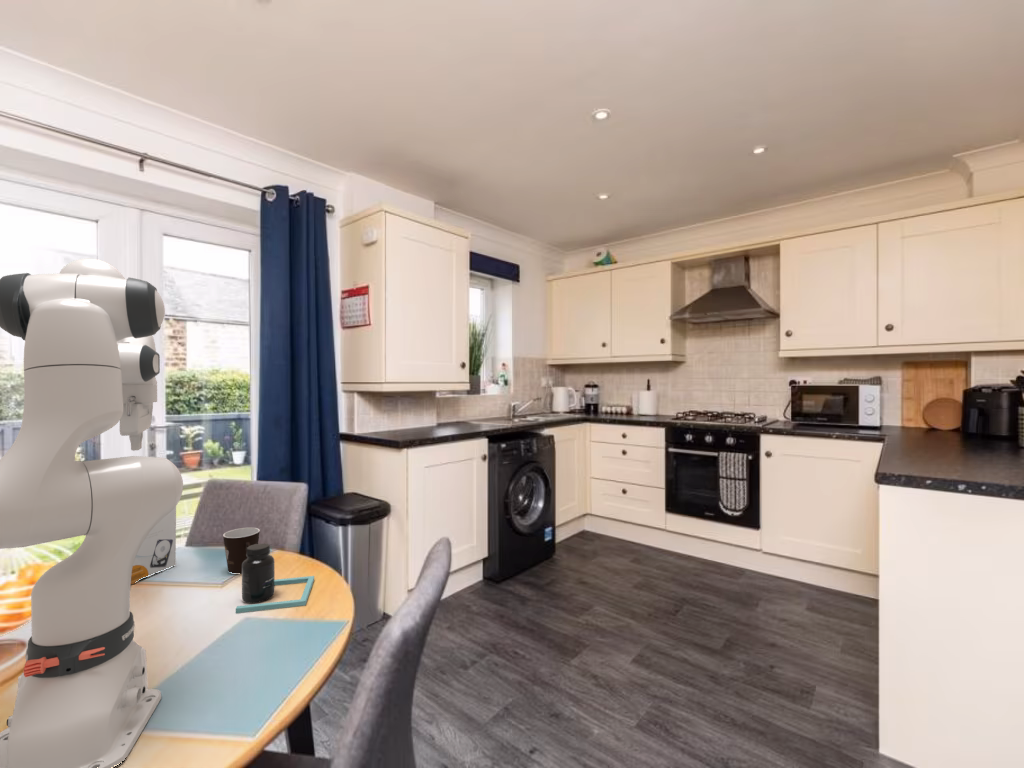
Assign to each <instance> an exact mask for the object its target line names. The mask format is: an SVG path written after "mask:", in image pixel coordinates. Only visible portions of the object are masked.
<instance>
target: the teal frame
mask: <svg viewBox="0 0 1024 768" xmlns="http://www.w3.org/2000/svg"><path fill="white" fill-rule="evenodd" d="M314 581H315V575H308V576H307V575H306V576H298V577H289V578H280V579H275V586H283V585H285V586H286V585H294V584H303V583H304V584H305V583H306V584H305V587H304V588H303V592H302V594H301V597H300V599H292V600H282V601H273V602H263V603H262V602H261V603H252V604H246V605H237V606H236V608H235V614H241V613H250V612H249V611H251V612H258V611H266V610H267V611H268V610H277V609H285V608H286V609H287V608H293V607H294V608H295V607H305V606H306V605H307V602H308V599H309V596H310V593H311V590H312V588H313V585H314Z"/></svg>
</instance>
